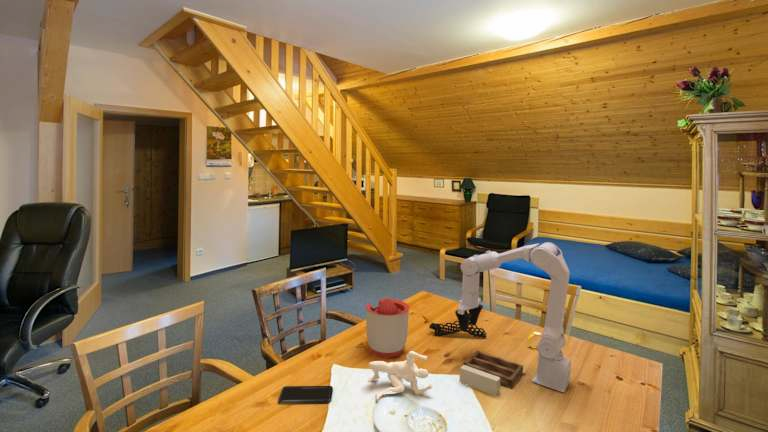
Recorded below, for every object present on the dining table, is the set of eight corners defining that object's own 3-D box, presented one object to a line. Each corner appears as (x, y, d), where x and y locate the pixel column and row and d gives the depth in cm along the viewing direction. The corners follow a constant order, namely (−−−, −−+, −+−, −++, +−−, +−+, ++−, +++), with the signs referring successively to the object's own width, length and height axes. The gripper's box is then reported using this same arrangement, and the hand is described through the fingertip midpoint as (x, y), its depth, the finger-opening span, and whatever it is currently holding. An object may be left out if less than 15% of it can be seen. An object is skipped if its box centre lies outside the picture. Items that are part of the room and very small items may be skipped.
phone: (330, 401, 112) (277, 401, 111) (330, 405, 112) (277, 405, 111) (333, 385, 120) (283, 385, 119) (333, 388, 120) (283, 389, 119)
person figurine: (367, 366, 112) (426, 349, 116) (361, 354, 124) (415, 339, 128) (376, 411, 111) (436, 394, 115) (369, 395, 124) (423, 379, 128)
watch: (542, 347, 149) (544, 332, 148) (544, 350, 146) (547, 335, 145) (526, 345, 149) (528, 330, 148) (528, 349, 146) (530, 333, 146)
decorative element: (484, 334, 159) (485, 320, 158) (487, 340, 154) (487, 325, 153) (428, 331, 161) (429, 318, 160) (429, 337, 156) (429, 323, 155)
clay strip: (499, 393, 119) (500, 377, 118) (496, 396, 117) (497, 381, 116) (463, 379, 126) (463, 364, 125) (459, 382, 124) (460, 367, 123)
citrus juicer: (383, 335, 156) (384, 286, 153) (417, 351, 143) (418, 298, 141) (353, 348, 145) (353, 296, 142) (386, 366, 132) (388, 309, 130)
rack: (522, 373, 130) (523, 365, 129) (511, 388, 121) (511, 380, 120) (477, 358, 139) (477, 350, 139) (463, 371, 130) (463, 363, 130)
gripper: (468, 283, 147) (467, 318, 148) (450, 293, 135) (448, 331, 137) (486, 287, 142) (484, 323, 144) (469, 298, 131) (467, 337, 133)
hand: (468, 327), depth 140 cm, fingers open, 7 cm apart
